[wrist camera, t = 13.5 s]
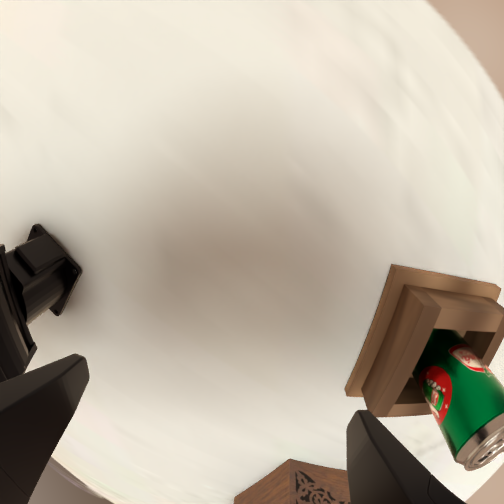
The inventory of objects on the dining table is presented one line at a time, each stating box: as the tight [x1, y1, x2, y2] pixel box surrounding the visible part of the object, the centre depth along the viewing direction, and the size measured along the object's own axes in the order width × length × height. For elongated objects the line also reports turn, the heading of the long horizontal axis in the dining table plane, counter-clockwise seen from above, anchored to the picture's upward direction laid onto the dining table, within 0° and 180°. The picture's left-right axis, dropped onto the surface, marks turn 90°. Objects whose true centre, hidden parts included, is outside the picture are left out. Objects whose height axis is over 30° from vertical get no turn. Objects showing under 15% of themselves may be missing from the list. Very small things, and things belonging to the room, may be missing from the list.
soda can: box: [412, 328, 504, 471], centre depth 15 cm, size 5×5×12 cm
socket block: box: [345, 264, 504, 417], centre depth 19 cm, size 12×12×4 cm
